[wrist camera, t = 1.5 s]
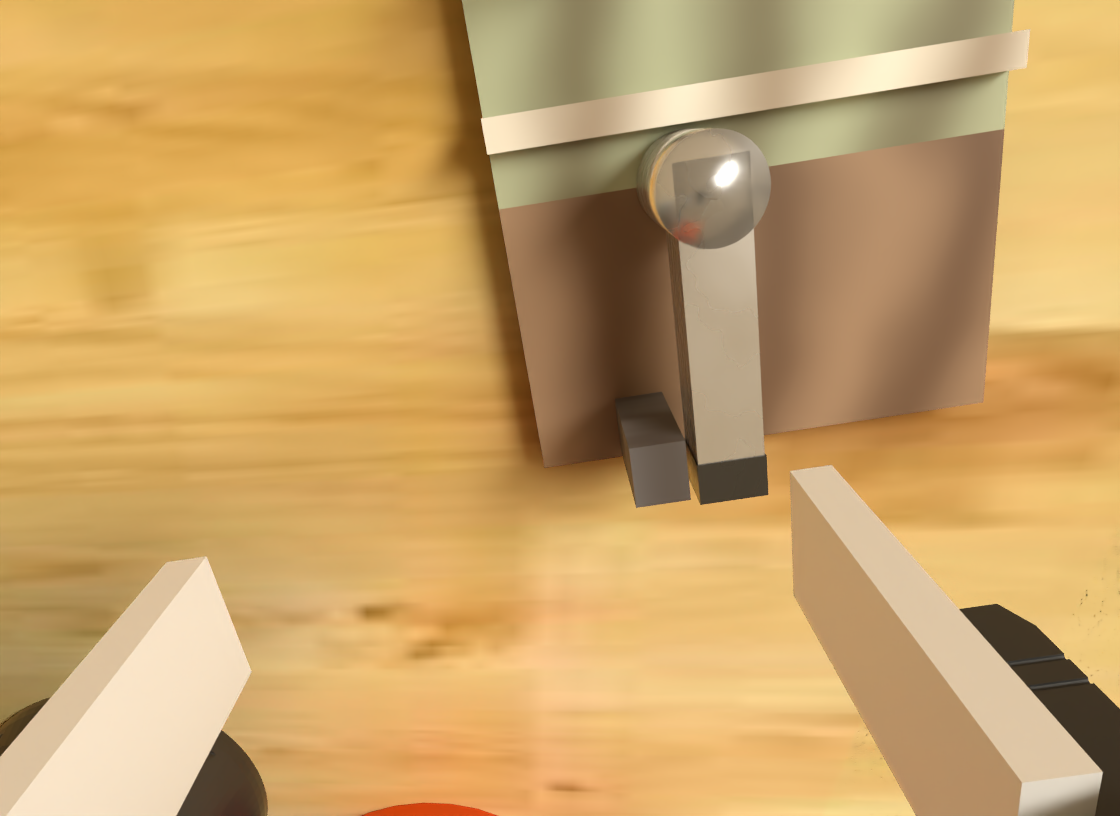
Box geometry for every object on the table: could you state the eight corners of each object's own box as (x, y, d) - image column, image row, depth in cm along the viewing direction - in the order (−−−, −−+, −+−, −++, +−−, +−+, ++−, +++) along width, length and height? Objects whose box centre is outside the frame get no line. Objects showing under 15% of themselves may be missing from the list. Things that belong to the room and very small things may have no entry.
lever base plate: (544, 453, 32) (545, 528, 26) (442, -126, 24) (411, -211, 18) (963, 390, 32) (1064, 451, 26) (1003, -222, 24) (1164, -344, 18)
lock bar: (630, 137, 26) (650, 138, 21) (729, 121, 26) (768, 119, 21) (664, 453, 30) (685, 506, 26) (748, 440, 30) (783, 492, 26)
